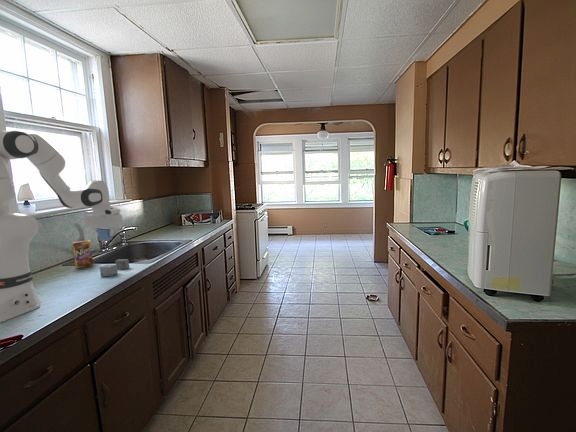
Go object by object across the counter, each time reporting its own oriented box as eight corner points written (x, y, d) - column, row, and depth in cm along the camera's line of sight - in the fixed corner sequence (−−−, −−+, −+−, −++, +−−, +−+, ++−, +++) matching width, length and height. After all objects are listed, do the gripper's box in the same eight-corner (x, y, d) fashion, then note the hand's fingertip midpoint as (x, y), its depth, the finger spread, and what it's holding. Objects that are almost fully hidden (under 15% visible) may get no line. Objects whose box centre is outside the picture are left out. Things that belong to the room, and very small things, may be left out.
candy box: (75, 268, 184) (72, 243, 181) (75, 267, 187) (72, 241, 185) (93, 265, 188) (90, 240, 186) (93, 264, 192) (90, 239, 190)
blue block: (108, 240, 170) (106, 229, 169) (99, 240, 170) (97, 229, 169) (112, 239, 173) (110, 228, 172) (103, 239, 174) (102, 228, 173)
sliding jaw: (111, 276, 166) (110, 267, 166) (100, 276, 167) (99, 267, 166) (118, 272, 172) (117, 263, 171) (108, 272, 173) (106, 264, 172)
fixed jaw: (126, 269, 179) (125, 260, 178) (116, 269, 179) (115, 260, 179) (129, 267, 182) (128, 259, 181) (119, 267, 182) (118, 259, 182)
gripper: (79, 212, 167) (83, 237, 170) (115, 211, 165) (119, 237, 167) (88, 210, 173) (91, 235, 176) (123, 209, 171) (126, 234, 173)
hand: (105, 236), depth 171 cm, fingers closed on blue block, 5 cm apart
